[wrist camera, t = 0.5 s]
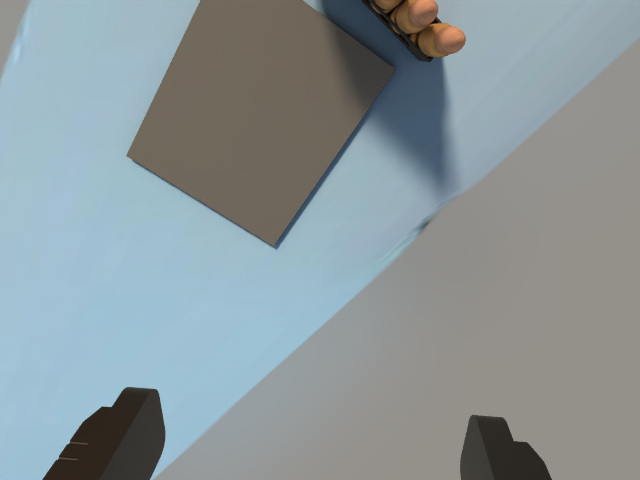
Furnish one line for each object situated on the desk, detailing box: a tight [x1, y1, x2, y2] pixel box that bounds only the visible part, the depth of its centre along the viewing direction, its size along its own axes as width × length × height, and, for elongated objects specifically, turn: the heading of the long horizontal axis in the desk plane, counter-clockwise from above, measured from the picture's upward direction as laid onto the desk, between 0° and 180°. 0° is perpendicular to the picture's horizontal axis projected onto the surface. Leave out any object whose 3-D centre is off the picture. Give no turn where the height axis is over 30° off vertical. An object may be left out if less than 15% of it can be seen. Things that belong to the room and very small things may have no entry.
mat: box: [127, 0, 395, 246], centre depth 32 cm, size 16×13×1 cm
